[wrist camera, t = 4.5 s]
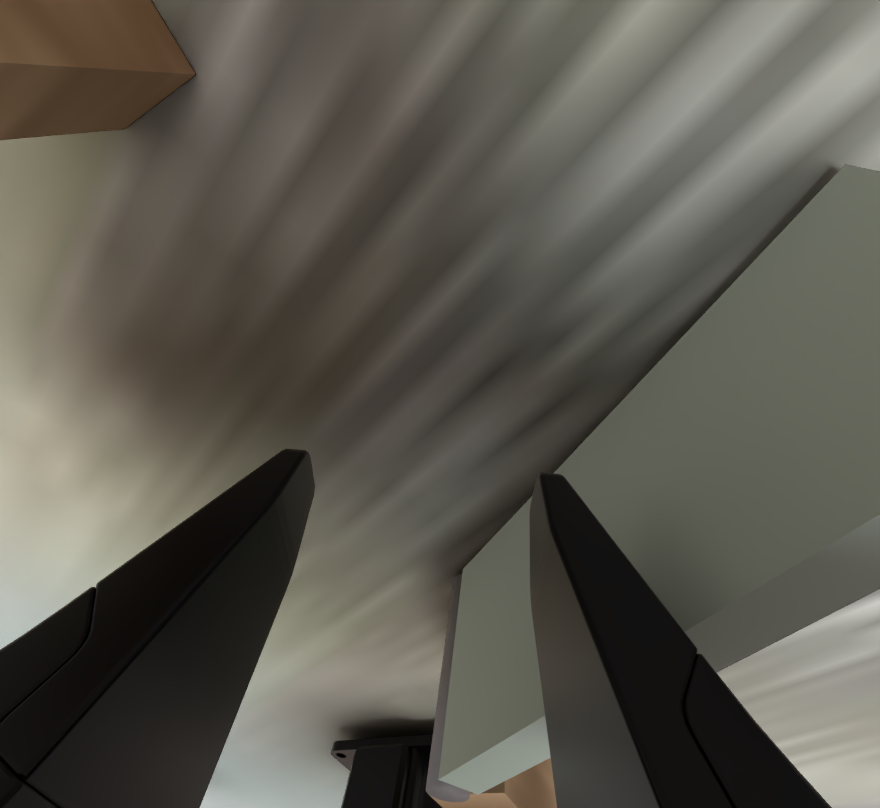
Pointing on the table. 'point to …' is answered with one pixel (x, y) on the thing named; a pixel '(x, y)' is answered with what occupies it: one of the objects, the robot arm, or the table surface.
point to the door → (705, 486)
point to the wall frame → (116, 107)
